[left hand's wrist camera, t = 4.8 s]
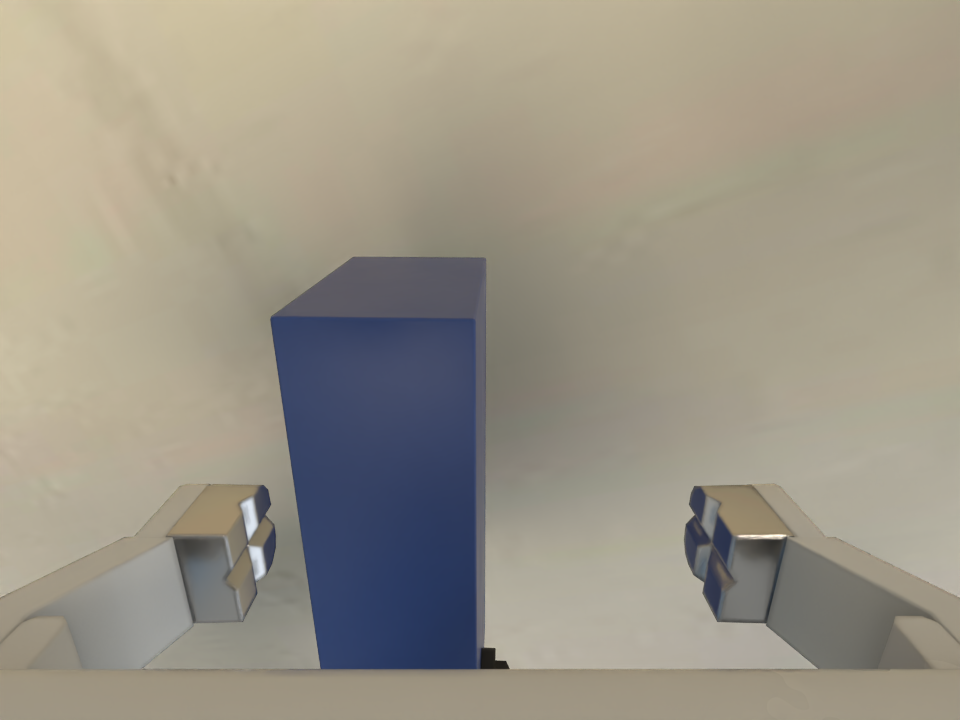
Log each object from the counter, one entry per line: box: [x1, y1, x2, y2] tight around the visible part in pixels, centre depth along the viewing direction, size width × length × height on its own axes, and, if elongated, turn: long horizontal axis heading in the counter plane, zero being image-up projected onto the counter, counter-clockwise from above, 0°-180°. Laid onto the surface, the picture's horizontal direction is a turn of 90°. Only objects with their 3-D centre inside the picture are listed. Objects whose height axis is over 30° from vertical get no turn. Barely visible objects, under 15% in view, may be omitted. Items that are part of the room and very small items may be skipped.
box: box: [270, 257, 486, 669], centre depth 24 cm, size 22×6×9 cm, turn 0°
